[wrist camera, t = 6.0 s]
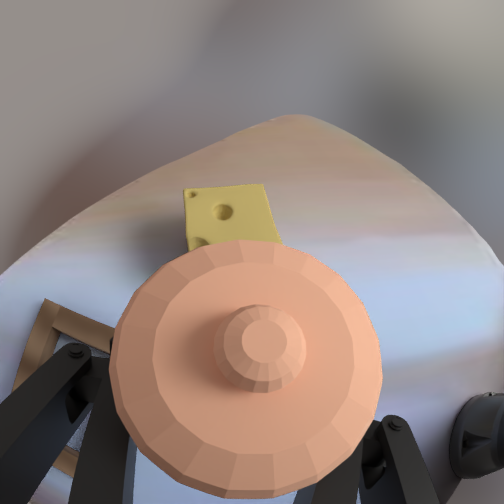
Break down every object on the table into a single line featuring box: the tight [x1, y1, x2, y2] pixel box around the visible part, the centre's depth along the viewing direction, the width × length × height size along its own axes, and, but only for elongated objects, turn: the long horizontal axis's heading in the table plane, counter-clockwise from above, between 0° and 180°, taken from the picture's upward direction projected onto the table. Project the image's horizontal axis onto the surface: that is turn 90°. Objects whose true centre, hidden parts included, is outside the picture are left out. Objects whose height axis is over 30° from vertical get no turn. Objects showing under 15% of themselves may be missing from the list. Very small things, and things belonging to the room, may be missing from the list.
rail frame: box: [11, 298, 115, 477], centre depth 25 cm, size 20×16×2 cm
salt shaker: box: [109, 239, 383, 499], centre depth 12 cm, size 7×7×19 cm
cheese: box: [183, 184, 283, 252], centre depth 35 cm, size 10×11×10 cm
